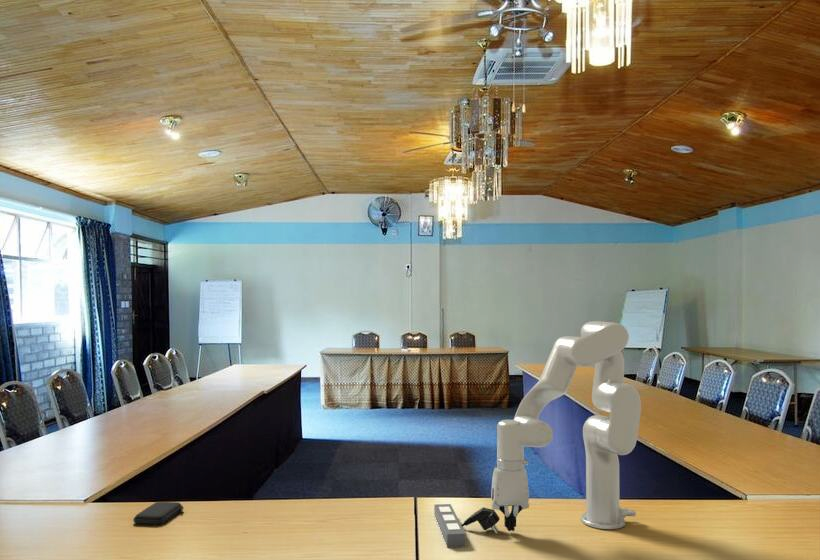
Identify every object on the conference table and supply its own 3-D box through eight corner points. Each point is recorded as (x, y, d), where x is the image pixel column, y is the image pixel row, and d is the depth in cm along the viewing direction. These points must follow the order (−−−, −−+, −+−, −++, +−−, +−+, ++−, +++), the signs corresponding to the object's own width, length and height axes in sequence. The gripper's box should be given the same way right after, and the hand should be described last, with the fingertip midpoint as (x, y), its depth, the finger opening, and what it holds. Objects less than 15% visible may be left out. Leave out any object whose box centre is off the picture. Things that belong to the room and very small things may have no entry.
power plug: (457, 522, 182) (490, 501, 180) (472, 544, 181) (505, 523, 179) (454, 529, 176) (489, 507, 174) (470, 552, 175) (504, 530, 173)
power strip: (450, 515, 190) (450, 503, 190) (465, 546, 166) (465, 532, 166) (434, 516, 189) (434, 503, 189) (447, 547, 166) (447, 533, 166)
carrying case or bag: (164, 528, 180) (188, 510, 194) (165, 517, 180) (188, 501, 195) (130, 526, 181) (156, 509, 196) (130, 516, 181) (156, 499, 196)
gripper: (531, 460, 181) (531, 523, 180) (481, 461, 179) (481, 525, 178) (539, 467, 173) (539, 533, 173) (487, 468, 172) (487, 535, 171)
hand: (510, 529), depth 175 cm, fingers closed
